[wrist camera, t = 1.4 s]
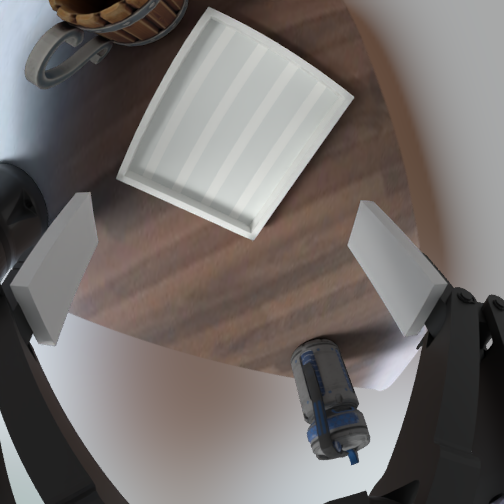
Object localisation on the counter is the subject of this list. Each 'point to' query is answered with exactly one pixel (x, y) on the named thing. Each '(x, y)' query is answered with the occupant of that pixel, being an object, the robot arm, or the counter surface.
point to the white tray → (231, 125)
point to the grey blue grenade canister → (328, 401)
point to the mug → (99, 32)
